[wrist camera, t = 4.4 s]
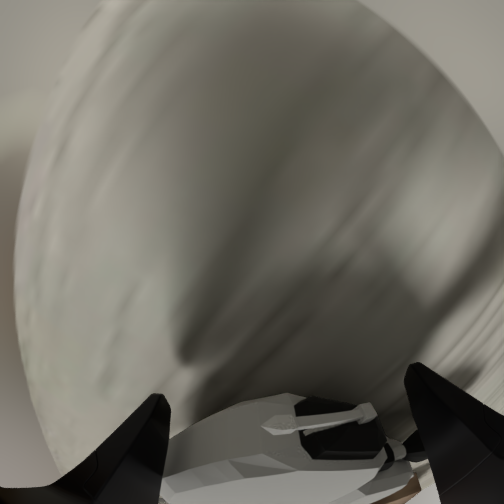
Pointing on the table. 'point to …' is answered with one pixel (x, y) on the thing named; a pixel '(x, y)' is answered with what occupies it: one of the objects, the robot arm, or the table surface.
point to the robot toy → (288, 455)
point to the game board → (402, 493)
